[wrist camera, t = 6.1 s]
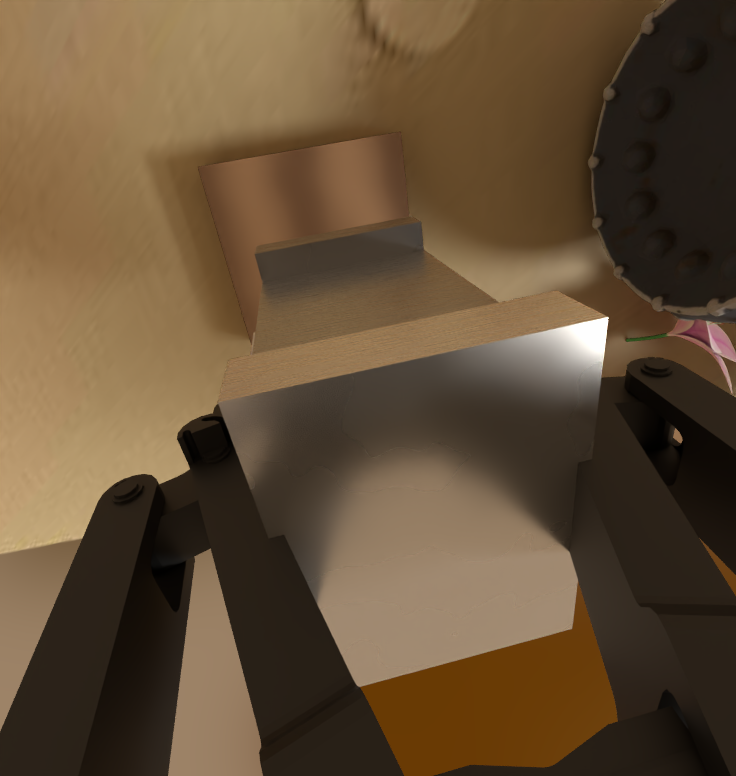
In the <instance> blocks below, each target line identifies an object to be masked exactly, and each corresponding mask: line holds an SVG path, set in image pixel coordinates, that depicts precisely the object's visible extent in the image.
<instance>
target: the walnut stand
mask: <svg viewBox="0 0 736 776" xmlns="http://www.w3.org/2000/svg"><path fill="white" fill-rule="evenodd" d="M198 170H199V173H200V176H201V180H202V183H203V186H204V190H205V193H206V196H207V199H208V203H209V206H210V209H211V213H212V216H213V219H214V223H215V226H216V229H217V232H218V236H219V239H220V242H221V246H222V249H223V252H224V256H225V259H226V262H227V265H228V269H229V272H230V275H231V279H232V282H233V285H234V289H235V292H236V295H237V298H238V302H239V305H240V308H241V312H242V315H243V318H244V322H245V325H246V328H247V331H248V335H249V338H250V341H251V345H252V340H253V333H254V332H255V331H256V324H257V317H258V309H259V302H260V295H261V287H262V279H261V276H260V272H259V269H258V265H257V261H256V258H255V250H256V246H259V245H264V244H269V243H274V242H280V241H285V240H290V239H295V238H300V237H305V236H311V235H316V234H321V233H326V232H331V231H336V230H342V229H347V228H352V227H357V226H362V225H368V224H373V223H378V222H383V221H388V220H393V219H399V218H404V217H409V209H408V199H407V189H406V179H405V169H404V159H403V149H402V139H401V132H396V133H390V134H384V135H378V136H373V137H367V138H361V139H355V140H350V141H344V142H338V143H332V144H326V145H321V146H315V147H309V148H303V149H298V150H292V151H286V152H280V153H275V154H269V155H263V156H257V157H251V158H246V159H240V160H234V161H228V162H223V163H217V164H211V165H205V166H200V167H198Z"/></svg>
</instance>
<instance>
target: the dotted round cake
mask: <svg viewBox="0 0 736 776" xmlns="http://www.w3.org/2000/svg"><path fill="white" fill-rule="evenodd" d="M603 98H604V104H603V107H602V111H601V114H600V118H599V123H598V127H597V132H596V136H595V142H594V147H593V153H592V155H591V157H590V158H589V160H588V166H589V168H590V169H591V190H592V200H593V208H594V215H595V216H594V219H593V221H592V226H593V227H594V228H595V229H596V230H597V231H598V234H599V237H600V239H601V242H602V245H603V247H604V249H605V251H606V253H607V255H608V257H609V259H610V261H611V263H612V265H613V267H614V272H613V275H614V276H615V277H616V278H618V279H620V280H623V281H624V282H625V283H626V284H627V285H628V286H629V287H630V288H631V289H632V290H633V291H634V292H635V293H636V294H637V295H638V296H640V297H641V298H642V299H644V300H645V301H647V302H649V303H651V304H652V307H653V309H654V310H656V311H657V312H658V311H668V312H671V313H672V315H673V316H674V317H676V318H678V319H680V320H684V321H691V320H697V319H699V320H705V321H710V322H721V323H736V0H666V1H665V2H664V3H663V4H662V5H661V6H660V7H659V8H658V9H656V10H654V11H653V12H651V13H649V14H647V15H646V16H645V18H644V20H643V22H642V24H641V30H640V32H639V33H638V35H637V36H636V38H635V39H634V41H633V42H632V44H631V45H630V47H629V49H628V50H627V52H626V53H625V55H624V57H623V59H622V61H621V63H620V65H619V67H618V69H617V71H616V73H615V75H614V77H613V79H612V81H611V83H610V84H609V85H608V86H607V87H606V88H605V89H604V92H603Z"/></svg>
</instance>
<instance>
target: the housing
mask: <svg viewBox="0 0 736 776" xmlns="http://www.w3.org/2000/svg"><path fill="white" fill-rule="evenodd" d="M255 258H256V261H257V265H258V269H259V272H260V276H261V279H262V287H261V295H260V302H259V309H258V317H257V324H256V331H255V338H254V346H253V353H252V355H248V356H244V357H239V358H234V359H229V360H228V363H227V367H226V371H225V375H224V379H223V383H222V387H221V391H220V395H219V399H218V404H219V407H220V410H221V413H222V415H223V418H224V421H225V423H226V426H227V429H228V431H229V434H230V437H231V439H232V442H233V445H234V447H235V450H236V453H237V455H238V458H239V461H240V463H241V466H242V469H243V471H244V474H245V477H246V479H247V482H248V485H249V487H250V490H251V493H252V495H253V498H254V501H255V503H256V506H257V509H258V511H259V514H260V517H261V519H262V522H263V525H264V527H265V530H266V533H267V535H268V538H272V537H276V536H280V535H285V538H286V540H287V542H288V544H289V546H290V548H291V550H292V552H293V554H294V556H295V559H296V561H297V563H298V565H299V567H300V569H301V571H302V573H303V575H304V577H305V579H306V582H307V584H308V586H309V588H310V590H311V592H312V594H313V596H314V598H315V600H316V602H317V605H318V607H319V609H320V611H321V613H322V615H323V617H324V619H325V621H326V623H327V625H328V628H329V630H330V632H331V634H332V636H333V638H334V640H335V642H336V644H337V646H338V648H339V651H340V653H341V655H342V657H343V659H344V661H345V663H346V665H347V667H348V669H349V671H350V674H351V676H352V678H353V680H354V681H355V683H356V685H357V686H359V687H361V686H364V685H368V684H372V683H375V682H379V681H382V680H386V679H390V678H393V677H397V676H401V675H404V674H408V673H412V672H415V671H419V670H422V669H426V668H430V667H434V666H437V665H441V664H444V663H448V662H452V661H456V660H459V659H463V658H466V657H470V656H474V655H478V654H481V653H485V652H489V651H492V650H496V649H499V648H503V647H507V646H511V645H514V644H518V643H522V642H525V641H529V640H533V639H536V638H540V637H543V636H547V635H550V634H554V633H558V632H562V631H565V630H569V629H572V625H573V616H574V607H575V599H576V591H577V581H578V578H577V575H576V572H575V568H574V565H573V562H572V559H571V555H570V552H569V551H570V540H571V530H572V520H573V510H574V499H575V489H576V479H577V469H578V462H582V461H586V460H590V459H592V453H593V445H594V436H595V427H596V419H597V410H598V402H599V393H600V384H601V376H602V367H603V359H604V350H605V341H606V333H607V324H608V317H607V316H605V315H603V314H601V313H599V312H597V311H595V310H593V309H592V308H590V307H588V306H586V305H584V304H582V303H580V302H578V301H576V300H574V299H572V298H570V297H568V296H566V295H564V294H562V293H560V292H558V291H556V290H555V291H551V292H546V293H541V294H536V295H532V296H527V297H522V298H518V299H513V300H508V301H503V302H498V301H496V300H495V299H493V298H492V297H491V296H489V295H488V294H486V293H485V292H483V291H482V290H480V289H479V288H478V287H476V286H475V285H473V284H472V283H470V282H469V281H468V280H466V279H465V278H463V277H462V276H460V275H459V274H458V273H456V272H455V271H453V270H452V269H450V268H449V267H448V266H446V265H445V264H443V263H442V262H440V261H439V260H437V259H436V258H435V257H433V256H432V255H430V254H429V253H427V252H426V251H425V250H424V248H423V237H422V226H421V221H419V220H417V219H415V218H413V217H411V216H409V217H404V218H399V219H393V220H388V221H383V222H378V223H373V224H368V225H362V226H357V227H352V228H347V229H342V230H336V231H331V232H326V233H321V234H316V235H311V236H305V237H300V238H295V239H290V240H285V241H280V242H274V243H269V244H264V245H259V246H256V250H255Z"/></svg>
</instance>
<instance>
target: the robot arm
mask: <svg viewBox="0 0 736 776" xmlns="http://www.w3.org/2000/svg"><path fill="white" fill-rule="evenodd" d="M254 338H255V332H254V333H253V340H252V347H251V354H250V355H252V353H253V346H254ZM675 428H676V429H677V430H678V431H679V432H680V434H681V436H682V439H683V441H682V443H679V442H677V441H676V440H675V439H674V438H673V434H674V430H675ZM177 440H178V442H179V444H180V446H181V449H182V451H183V453H184V455H185V457H186V460H187V462H188V464H189V467H190V470H188V471H187V472H185V473H184V474H182V475H180V476H178V477H176V478H173V479H171V480H169V481H166V482H164V483H162V484H159V483H158V481H157V479H156V478H154V477H153V476H152V475H147V474H141V475H135V476H131V477H129V478H125V479H123V480H121V481H120V482H117V483H116V484H114V485H113V486H112V487H110V488H109V489H108V490H107V491H106V492H105V493H104V494H103V495H102V497H101V498H100V499H99V501H98V503H97V506H96V508H95V510H94V513H93V515H92V517H91V520H90V522H89V524H88V527H87V529H86V532H85V534H84V536H83V539H82V541H81V543H80V546H79V548H78V550H77V553H76V555H75V557H74V560H73V562H72V564H71V567H70V569H69V572H68V574H67V576H66V579H65V581H64V583H63V586H62V588H61V591H60V593H59V595H58V597H57V600H56V602H55V604H54V607H53V609H52V611H51V614H50V616H49V618H48V621H47V623H46V625H45V628H44V630H43V633H42V635H41V637H40V640H39V642H38V644H37V647H36V649H35V652H34V654H33V656H32V658H31V661H30V663H29V665H28V668H27V670H26V673H25V675H24V677H23V680H22V682H21V684H20V687H19V689H18V691H17V694H16V696H15V698H14V701H13V703H12V705H11V708H10V710H9V712H8V715H7V717H6V719H5V722H4V724H3V726H2V729H1V731H0V776H168V771H169V763H170V754H171V745H172V739H173V731H174V723H175V714H176V706H177V699H178V691H179V682H180V675H181V667H182V658H183V651H184V643H185V635H186V627H187V619H188V611H189V603H190V594H191V586H192V578H193V570H194V563H195V558H194V556H196V555H198V554H200V553H202V552H204V551H206V550H208V549H210V548H211V551H212V555H213V558H214V562H215V566H216V570H217V574H218V578H219V582H220V585H221V589H222V593H223V597H224V601H225V605H226V608H227V612H228V616H229V620H230V624H231V627H232V631H233V635H234V639H235V643H236V647H237V650H238V654H239V658H240V661H241V665H242V669H243V673H244V677H245V681H246V685H247V689H248V692H249V696H250V700H251V704H252V708H253V712H254V715H255V719H256V723H257V726H258V731H259V735H260V739H261V749H260V752H259V754H260V763H261V768H262V773H263V776H404V775H403V773H402V770H401V768H400V766H399V764H398V762H397V760H396V758H395V756H394V754H393V752H392V750H391V748H390V746H389V744H388V742H387V740H386V737H385V735H384V733H383V731H382V729H381V727H380V725H379V723H378V721H377V719H376V717H375V715H374V713H373V711H372V709H371V707H370V705H369V703H368V701H367V699H366V697H365V695H364V693H363V692H362V690H361V689H360V687H359V686H357V685H356V683H355V681H354V680H353V678H352V676H351V674H350V671H349V669H348V667H347V665H346V663H345V661H344V659H343V657H342V655H341V653H340V651H339V648H338V646H337V644H336V642H335V640H334V638H333V636H332V634H331V632H330V630H329V628H328V625H327V623H326V621H325V619H324V617H323V615H322V613H321V611H320V609H319V607H318V605H317V602H316V600H315V598H314V596H313V594H312V592H311V590H310V588H309V586H308V584H307V582H306V579H305V577H304V575H303V573H302V571H301V569H300V567H299V565H298V563H297V561H296V559H295V556H294V554H293V552H292V550H291V548H290V546H289V544H288V542H287V540H286V538H285V535H280V536H276V537H272V538H268V535H267V533H266V530H265V527H264V525H263V522H262V519H261V517H260V514H259V511H258V509H257V506H256V503H255V501H254V498H253V495H252V493H251V490H250V487H249V485H248V482H247V479H246V477H245V474H244V471H243V469H242V466H241V463H240V461H239V458H238V455H237V453H236V450H235V447H234V445H233V442H232V439H231V437H230V434H229V431H228V429H227V426H226V423H225V421H224V418H223V415H222V413H221V410H220V407H219V404H217V405H216V407H215V408H214V412H213V414H208V415H205V416H201V417H199V418H197V419H194V420H192V421H190V422H189V423H188V424H186V425H185V426H183V427H182V429H181V430H180V431H179V432H178V436H177ZM699 538H700V539H701V540H702V541H703V542H704V543H705V544H706V545H707V546H708V547H709V548H710V549H711V550H712V551H713V552H714V553H715V554H716V555H717V556H718V557H719V558H720V559H721V560H722V561H723V562H724V563H725V565H726V566H727V567H728V568H730V570H731V571H732V572H733V573H734V574H735V575H736V398H735V397H734V396H732V395H730V394H729V393H727V392H725V391H724V390H722V389H720V388H719V387H717V386H715V385H714V384H712V383H710V382H709V381H707V380H705V379H704V378H702V377H700V376H699V375H697V374H695V373H694V372H692V371H690V370H689V369H687V368H685V367H684V366H682V365H680V364H678V363H676V362H673V361H670V360H665V359H663V358H657V357H656V358H655V357H648V358H642V359H637V360H634V361H631V362H630V363H629V364H628V365H627V370H626V377H606V378H601V384H600V393H599V402H598V410H597V419H596V427H595V436H594V445H593V453H592V459H590V460H586V461H582V462H578V469H577V479H576V489H575V499H574V510H573V520H572V530H571V540H570V551H569V552H570V555H571V559H572V562H573V565H574V568H575V572H576V575H577V578H578V581H579V585H580V588H581V591H582V594H583V597H584V601H585V604H586V607H587V610H588V614H589V617H590V620H591V623H592V627H593V630H594V633H595V636H596V639H597V643H598V646H599V649H600V652H601V656H602V659H603V662H604V666H605V669H606V672H607V675H608V679H609V682H610V685H611V688H612V691H613V695H614V699H615V704H616V709H617V718H618V722H615V723H612V724H608V725H607V726H606V727H604V728H603V729H602V730H600V731H599V732H598V733H596V734H595V735H594V736H592V737H591V738H590V739H588V740H587V741H586V742H584V743H583V744H582V745H580V746H579V747H578V748H576V749H575V750H574V751H572V752H571V753H570V754H568V755H567V756H566V757H564V758H563V759H562V760H560V761H559V762H558V763H556V764H555V765H553V766H550V767H545V768H537V767H511V766H484V765H469V766H465V767H462V768H458V769H455V770H452V771H448V772H445V773H442V774H438V775H435V776H736V596H735V594H734V593H733V591H732V590H731V588H730V586H729V585H728V583H727V581H726V580H725V578H724V577H723V575H722V574H721V572H720V570H719V569H718V567H717V566H716V564H715V563H714V561H713V559H712V558H711V556H710V555H709V553H708V551H707V550H706V548H705V547H704V545H703V543H702V542H701V540H700V539H699Z"/></svg>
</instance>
